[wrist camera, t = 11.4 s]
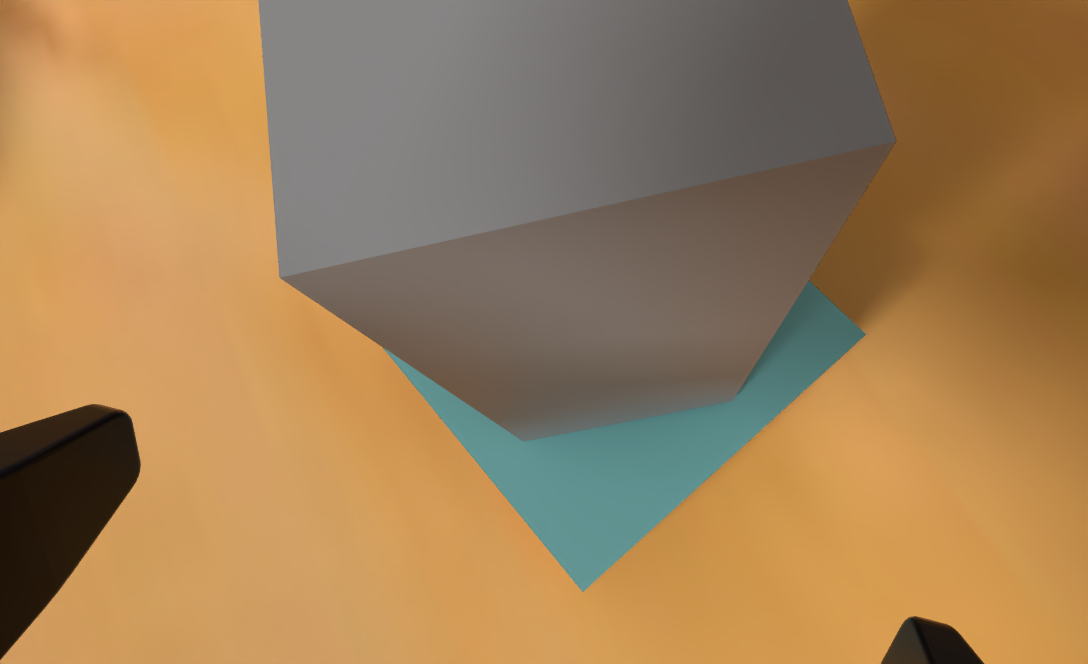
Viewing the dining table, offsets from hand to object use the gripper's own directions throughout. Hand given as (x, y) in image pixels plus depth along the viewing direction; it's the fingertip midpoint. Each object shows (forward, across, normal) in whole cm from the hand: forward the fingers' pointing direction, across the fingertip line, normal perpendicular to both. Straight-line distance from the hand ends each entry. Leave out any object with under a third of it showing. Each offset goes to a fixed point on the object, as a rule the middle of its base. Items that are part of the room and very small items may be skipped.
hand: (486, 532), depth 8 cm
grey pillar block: (+10, 0, +2) cm, 10 cm away
